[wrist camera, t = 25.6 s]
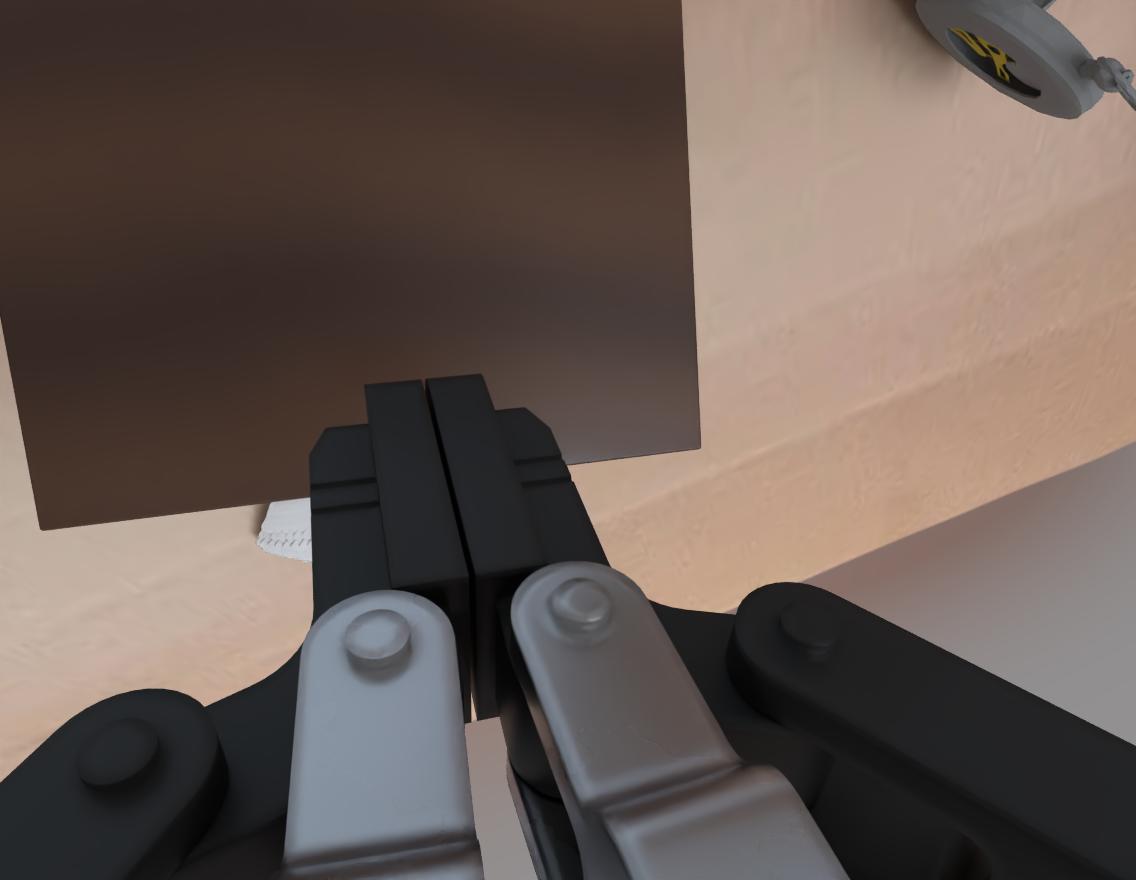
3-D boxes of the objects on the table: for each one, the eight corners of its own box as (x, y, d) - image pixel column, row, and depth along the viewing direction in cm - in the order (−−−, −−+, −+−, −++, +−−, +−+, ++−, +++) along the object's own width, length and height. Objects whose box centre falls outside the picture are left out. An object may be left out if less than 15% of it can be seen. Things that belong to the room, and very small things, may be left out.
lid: (688, 444, 20) (702, 449, 19) (53, 522, 17) (39, 531, 16) (649, -386, 17) (663, -419, 16) (-137, -506, 14) (-165, -554, 13)
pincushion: (301, 576, 37) (302, 676, 33) (215, 493, 33) (204, 593, 29) (532, 459, 37) (565, 544, 32) (473, 360, 33) (502, 443, 29)
